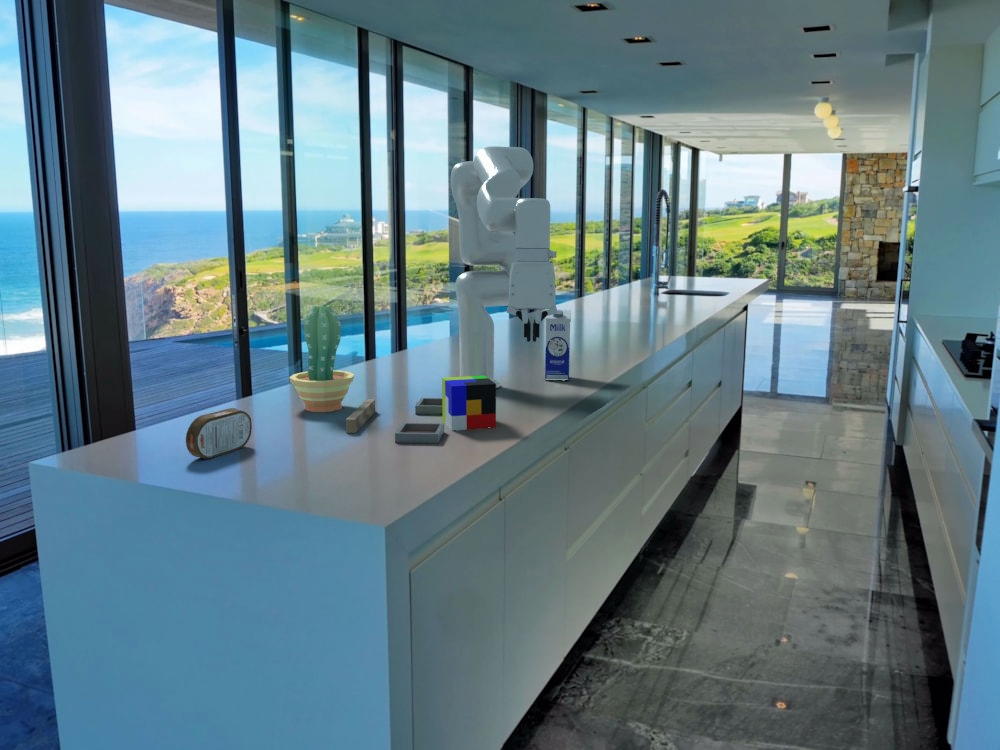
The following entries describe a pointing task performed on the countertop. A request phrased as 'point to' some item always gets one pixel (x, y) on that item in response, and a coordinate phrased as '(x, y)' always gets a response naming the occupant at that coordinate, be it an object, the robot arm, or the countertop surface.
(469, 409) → the puzzle toy
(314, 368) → the potted cactus
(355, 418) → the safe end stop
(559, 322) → the milk carton
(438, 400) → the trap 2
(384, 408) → the countertop surface
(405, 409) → the countertop surface
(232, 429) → the tin
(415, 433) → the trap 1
